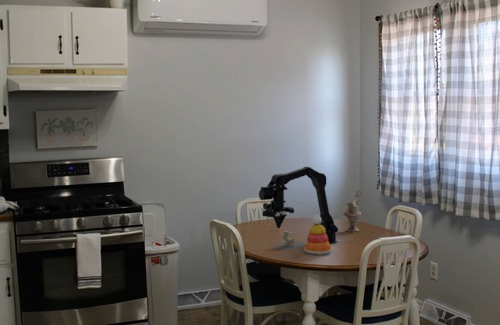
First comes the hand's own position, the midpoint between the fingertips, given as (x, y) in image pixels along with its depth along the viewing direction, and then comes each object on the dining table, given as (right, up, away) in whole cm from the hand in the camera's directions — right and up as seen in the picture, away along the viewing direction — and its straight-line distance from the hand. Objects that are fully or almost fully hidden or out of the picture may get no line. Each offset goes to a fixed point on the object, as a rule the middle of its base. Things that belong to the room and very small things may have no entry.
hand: (278, 228), depth 289 cm
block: (+5, -11, +6) cm, 13 cm away
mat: (+7, -11, +8) cm, 15 cm away
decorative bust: (+47, -8, +45) cm, 65 cm away
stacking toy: (+20, -12, -6) cm, 24 cm away
